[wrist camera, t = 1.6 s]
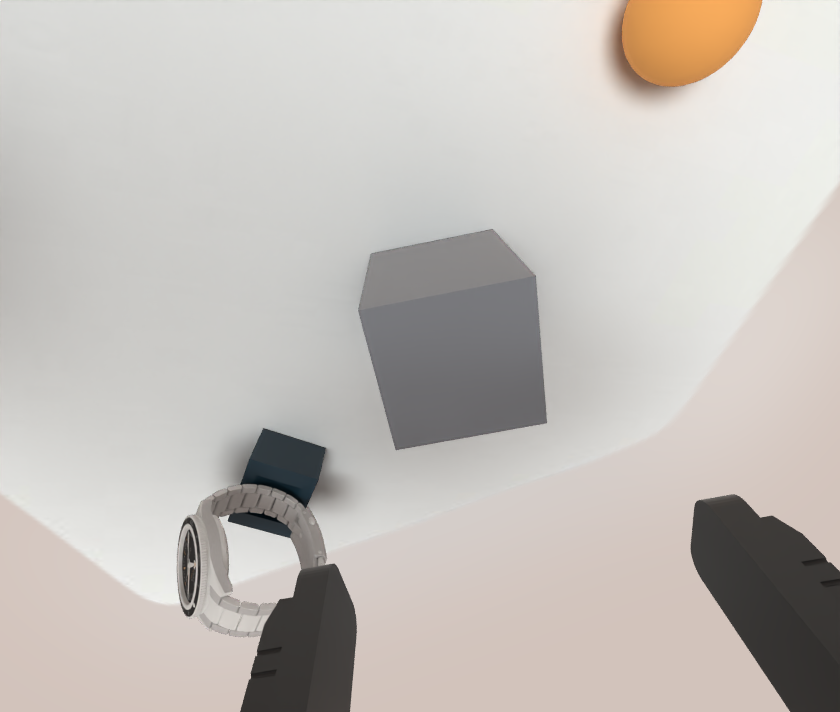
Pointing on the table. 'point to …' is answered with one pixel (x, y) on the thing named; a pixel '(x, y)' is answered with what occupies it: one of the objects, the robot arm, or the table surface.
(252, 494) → the watch
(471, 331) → the grey block
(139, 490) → the table surface
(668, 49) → the ball
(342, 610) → the robot arm
